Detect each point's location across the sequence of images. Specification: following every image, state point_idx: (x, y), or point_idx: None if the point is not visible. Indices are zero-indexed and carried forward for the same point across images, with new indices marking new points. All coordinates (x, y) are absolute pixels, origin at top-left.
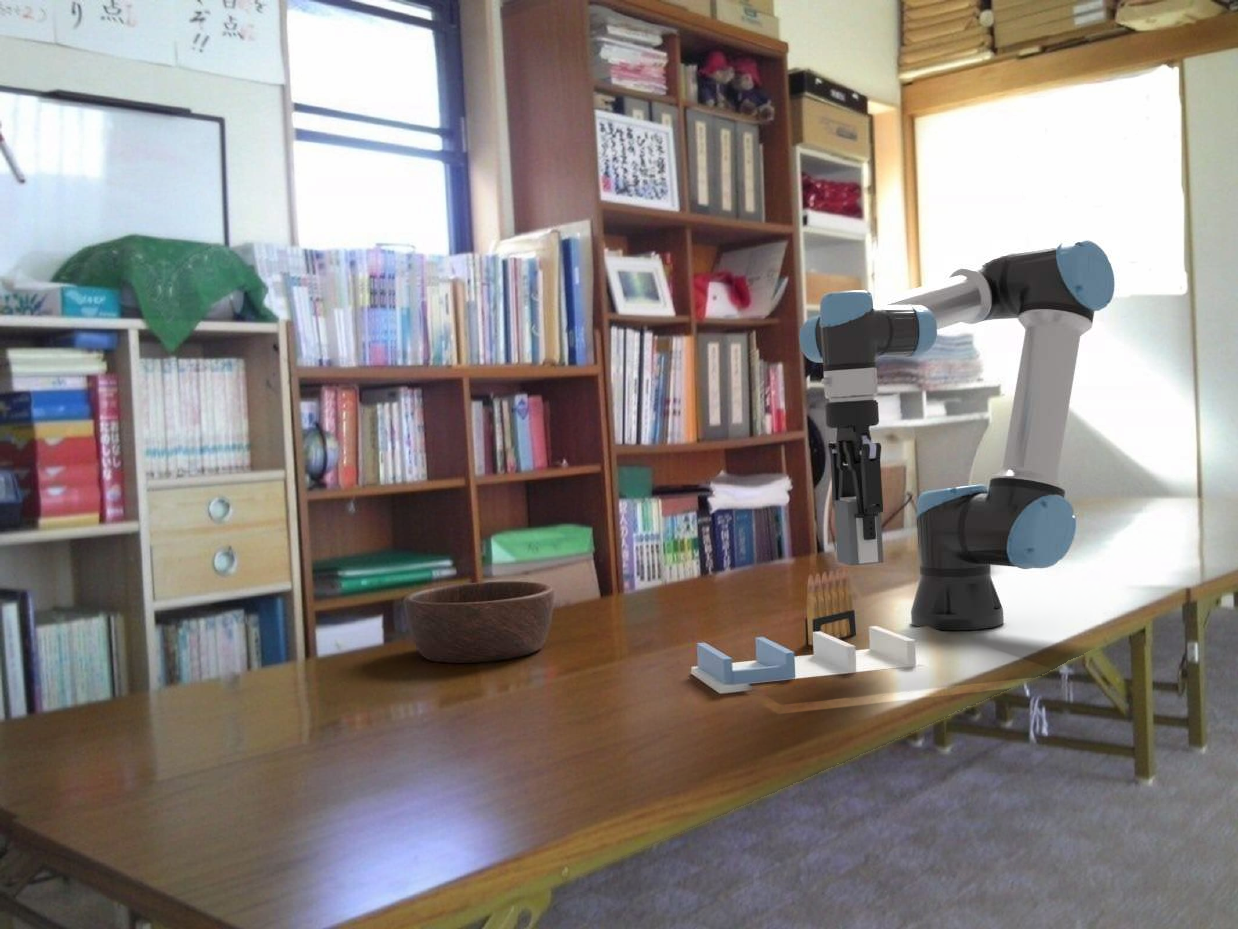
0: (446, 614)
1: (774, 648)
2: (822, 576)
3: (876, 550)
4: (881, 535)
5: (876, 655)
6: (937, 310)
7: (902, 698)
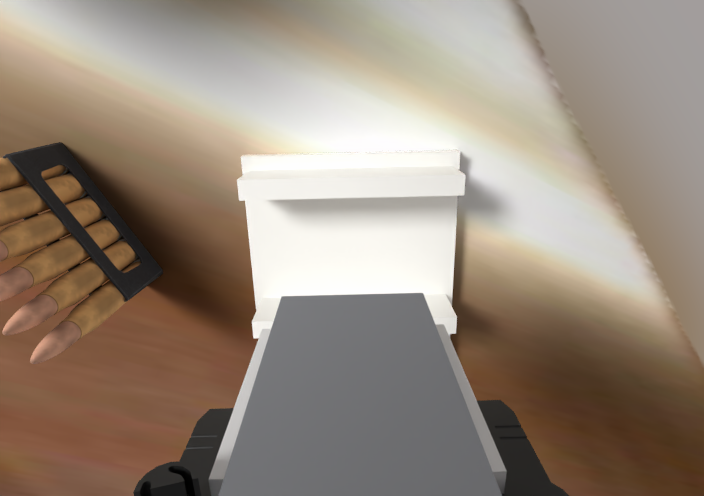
0: None
1: None
2: None
3: (453, 353)
4: (445, 355)
5: (320, 201)
6: None
7: (625, 276)
